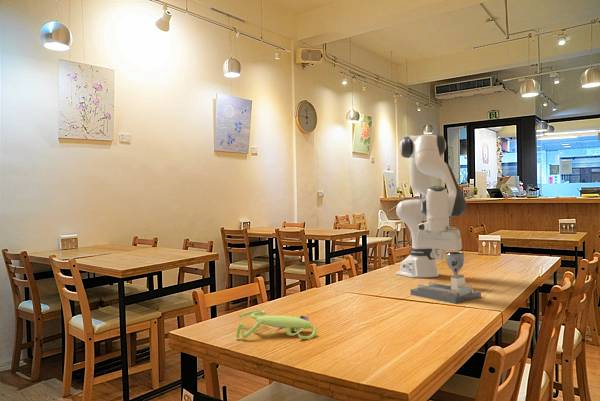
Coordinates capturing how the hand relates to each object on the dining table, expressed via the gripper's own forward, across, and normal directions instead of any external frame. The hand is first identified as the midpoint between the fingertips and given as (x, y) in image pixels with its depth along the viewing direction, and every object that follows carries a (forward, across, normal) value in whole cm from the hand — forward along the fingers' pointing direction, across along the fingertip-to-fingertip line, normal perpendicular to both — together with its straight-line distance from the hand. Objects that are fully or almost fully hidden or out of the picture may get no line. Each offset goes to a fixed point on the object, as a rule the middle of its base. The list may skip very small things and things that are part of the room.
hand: (439, 259), depth 184 cm
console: (+14, -3, +1) cm, 15 cm away
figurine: (+13, +2, +79) cm, 80 cm away
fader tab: (+12, -9, +1) cm, 15 cm away
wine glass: (+15, +5, -17) cm, 24 cm away
